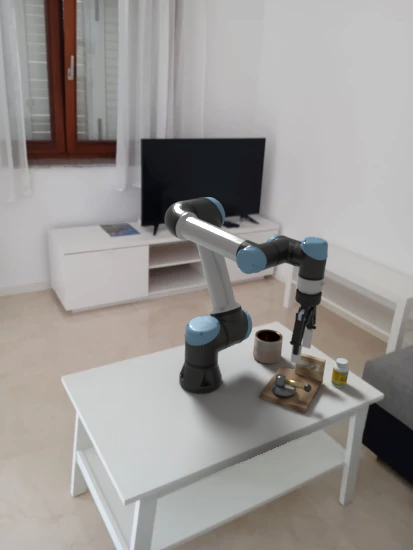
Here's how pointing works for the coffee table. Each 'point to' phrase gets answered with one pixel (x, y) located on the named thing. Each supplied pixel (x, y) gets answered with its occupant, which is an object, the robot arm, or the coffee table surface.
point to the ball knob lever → (287, 387)
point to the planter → (267, 346)
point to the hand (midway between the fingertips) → (300, 354)
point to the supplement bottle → (340, 373)
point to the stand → (303, 373)
